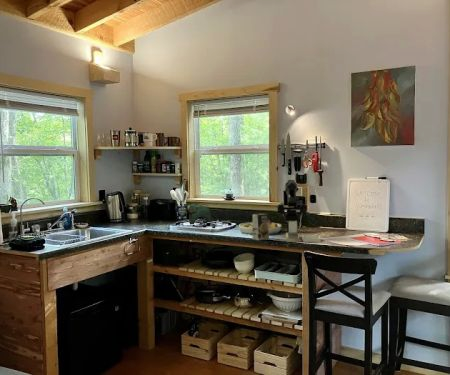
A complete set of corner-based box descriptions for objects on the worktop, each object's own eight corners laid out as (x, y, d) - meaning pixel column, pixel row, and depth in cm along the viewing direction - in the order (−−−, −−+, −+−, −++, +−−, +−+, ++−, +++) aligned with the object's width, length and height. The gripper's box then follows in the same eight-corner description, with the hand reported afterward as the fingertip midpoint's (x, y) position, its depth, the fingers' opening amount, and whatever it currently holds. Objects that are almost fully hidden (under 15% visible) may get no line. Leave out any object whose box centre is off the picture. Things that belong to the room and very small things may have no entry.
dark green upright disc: (189, 227, 320) (189, 201, 319) (186, 225, 326) (185, 200, 325) (212, 224, 330) (212, 199, 329) (208, 223, 336) (208, 199, 334)
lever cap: (288, 236, 264) (288, 220, 264) (296, 236, 264) (296, 220, 263) (288, 237, 260) (288, 221, 260) (297, 237, 260) (297, 221, 259)
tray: (302, 238, 267) (302, 235, 267) (319, 238, 266) (319, 235, 266) (303, 241, 257) (303, 238, 257) (320, 241, 256) (320, 238, 255)
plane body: (285, 236, 276) (285, 224, 276) (298, 236, 275) (298, 224, 275) (286, 241, 258) (286, 228, 257) (299, 241, 257) (299, 228, 256)
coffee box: (258, 240, 263) (258, 214, 262) (252, 239, 268) (252, 214, 267) (269, 238, 268) (269, 213, 267) (262, 237, 273) (262, 212, 272)
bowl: (279, 236, 278) (279, 224, 278) (235, 235, 284) (235, 223, 284) (282, 229, 308) (282, 218, 307) (242, 228, 314) (242, 217, 313)
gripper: (277, 192, 273) (277, 210, 263) (306, 192, 271) (307, 211, 261) (277, 203, 282) (277, 221, 271) (305, 203, 279) (307, 221, 269)
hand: (292, 218), depth 268 cm, fingers open, 9 cm apart
